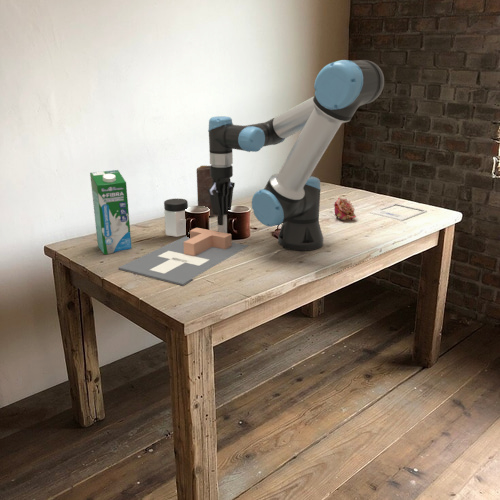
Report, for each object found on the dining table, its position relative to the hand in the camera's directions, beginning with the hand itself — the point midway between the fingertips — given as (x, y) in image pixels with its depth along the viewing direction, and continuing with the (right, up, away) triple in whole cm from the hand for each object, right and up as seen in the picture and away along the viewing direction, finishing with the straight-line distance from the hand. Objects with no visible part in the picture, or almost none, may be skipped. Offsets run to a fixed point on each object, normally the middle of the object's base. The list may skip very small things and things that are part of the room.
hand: (222, 233), depth 186 cm
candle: (-7, +7, +26) cm, 28 cm away
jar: (-16, 0, +6) cm, 17 cm away
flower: (+46, +6, +22) cm, 51 cm away
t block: (-6, -5, -9) cm, 13 cm away
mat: (-10, -8, -16) cm, 21 cm away
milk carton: (-35, -5, -7) cm, 36 cm away
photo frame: (+69, +9, +31) cm, 76 cm away
